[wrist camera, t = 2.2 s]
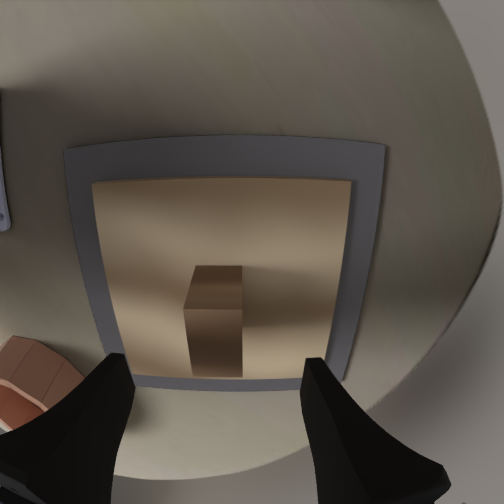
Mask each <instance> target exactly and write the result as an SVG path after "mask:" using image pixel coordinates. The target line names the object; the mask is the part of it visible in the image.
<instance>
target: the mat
mask: <svg viewBox="0 0 504 504" xmlns="http://www.w3.org/2000/svg"><path fill="white" fill-rule="evenodd" d="M63 152H64V165H65V175H66V184H67V193H68V200H69V207H70V214H71V220H72V226H73V232H74V237H75V242H76V248H77V252H78V257H79V262H80V266H81V271H82V275H83V279H84V283H85V287H86V291H87V295H88V298H89V302H90V306H91V309H92V313H93V316H94V319H95V323H96V326H97V329H98V332H99V335H100V339H101V342H102V345H103V347H104V350H105V353H106V356H108V355H109V354H110V353H111V352H113V353H122V354H125V357H126V361H127V364H128V367H129V370H130V373H131V376H132V379H133V382H134V385H135V386H143V387H153V388H164V389H178V390H196V391H238V392H241V391H283V390H300V387H301V382H302V378H284V379H194V378H175V377H161V376H149V375H139V374H132V371H131V368H130V365H129V362H128V359H127V355H126V352H125V349H124V345H123V342H122V339H121V335H120V332H119V328H118V324H117V320H116V317H115V313H114V309H113V305H112V301H111V296H110V292H109V288H108V283H107V279H106V274H105V269H104V264H103V259H102V254H101V248H100V242H99V236H98V230H97V224H96V217H95V209H94V202H93V193H92V184H93V183H96V182H103V181H115V180H129V179H146V178H166V177H194V176H283V177H311V178H332V179H348V180H349V181H351V192H350V202H349V212H348V220H347V229H346V237H345V244H344V252H343V259H342V266H341V272H340V279H339V285H338V291H337V297H336V303H335V308H334V314H333V319H332V324H331V330H330V335H329V340H328V345H327V349H326V354H325V359H324V361H325V363H326V364H327V366H328V367H329V369H330V370H331V372H332V373H333V374H334V376H335V377H336V378H337V380H338V381H339V382H340V384H341V382H342V379H343V375H344V372H345V369H346V365H347V362H348V358H349V354H350V351H351V347H352V343H353V339H354V336H355V332H356V328H357V323H358V319H359V315H360V311H361V306H362V302H363V297H364V293H365V288H366V283H367V278H368V273H369V268H370V262H371V257H372V251H373V245H374V239H375V233H376V226H377V220H378V212H379V205H380V197H381V188H382V179H383V169H384V158H385V145H383V144H377V143H369V142H360V141H351V140H340V139H329V138H316V137H299V136H277V135H201V136H178V137H162V138H149V139H138V140H127V141H118V142H110V143H102V144H94V145H87V146H80V147H74V148H68V149H64V150H63Z"/></svg>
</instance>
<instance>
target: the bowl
mask: <svg viewBox="0 0 504 504" xmlns="http://www.w3.org/2000/svg"><path fill="white" fill-rule="evenodd" d="M84 379H85V377H84V376H83V375H82V374H81V373H80V372H79V371H78V370H77V369H76V368H75V367H74V366H73V365H72V364H71V363H70V362H69V361H68V360H67V359H66V358H64V357H63V356H61V355H59V354H58V353H56V352H54V351H53V350H51V349H49V348H48V347H46V346H45V345H43V344H41V343H40V342H38V341H36V340H32V339H27V338H22V337H17V336H12V337H11V338H10V339H8V340H7V341H6V342H4V343H3V344H2V345H1V346H0V421H1V422H2V423H3V424H4V425H5V426H6V427H7V428H8V429H10V430H11V431H12V430H14V429H16V428H18V427H20V426H22V425H24V424H26V423H28V422H29V421H31V420H33V419H34V418H36V417H38V416H39V415H41V414H43V413H44V412H46V411H47V410H48V409H50V408H51V407H53V406H54V405H55V404H57V403H58V402H59V401H60V400H62V399H63V398H64V397H65V396H66V395H67V394H68V393H70V392H71V391H72V390H73V389H74V388H75V387H76V386H78V385H79V384H80V383H81V382H82V381H83V380H84Z"/></svg>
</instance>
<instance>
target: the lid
mask: <svg viewBox="0 0 504 504" xmlns="http://www.w3.org/2000/svg"><path fill="white" fill-rule="evenodd" d="M350 192H351V181H349V180H348V179H332V178H311V177H283V176H194V177H166V178H146V179H129V180H115V181H103V182H96V183H93V184H92V193H93V202H94V209H95V217H96V224H97V230H98V236H99V242H100V248H101V254H102V259H103V264H104V269H105V274H106V279H107V283H108V288H109V292H110V296H111V301H112V305H113V309H114V313H115V317H116V320H117V324H118V328H119V332H120V335H121V339H122V342H123V345H124V349H125V352H126V355H127V359H128V362H129V365H130V368H131V371H132V374H139V375H149V376H161V377H175V378H194V379H284V378H302V376H303V371H304V365H305V359H306V358H314V357H321V358H322V359H323V360H324V359H325V354H326V349H327V345H328V340H329V335H330V330H331V324H332V319H333V314H334V308H335V303H336V297H337V291H338V285H339V279H340V272H341V266H342V259H343V252H344V244H345V237H346V229H347V220H348V212H349V202H350Z"/></svg>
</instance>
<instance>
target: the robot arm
mask: <svg viewBox="0 0 504 504" xmlns="http://www.w3.org/2000/svg"><path fill="white" fill-rule="evenodd" d="M2 214H3V215H2ZM3 216H4V218H3ZM10 226H11V222H10V217H9V212H8V206H7V200H6V194H5V187H4V179H3V171H2V161H1V148H0V231H7V230H8V229H9V228H10ZM134 392H135V385H134V382H133V379H132V376H131V373H130V370H129V367H128V364H127V361H126V357H125V354H122V353H113V352H111V353H110V354H109V355H108V356H107V357H106V358H105V359H104V360H103V361H102V362H101V363H100V364H99V365H98V366H97V367H96V368H95V369H94V370H93V371H92V372H91V373H90V374H89V375H88V376H87V377H86V378H85V379H84V380H83V381H82V382H81V383H80V384H79V385H78V386H76V387H75V388H74V389H73V390H72V391H71V392H70V393H68V394H67V395H66V396H65V397H64V398H63V399H62V400H60V401H59V402H58V403H57V404H55V405H54V406H53V407H51V408H50V409H48V410H47V411H46V412H44V413H43V414H41V415H39V416H38V417H36V418H34V419H33V420H31V421H29V422H28V423H26V424H24V425H22V426H20V427H18V428H16V429H14V430H12V431H9V432H7V433H5V434H2V435H0V485H1V487H0V504H111V490H112V481H113V473H114V467H115V461H116V456H117V452H118V448H119V445H120V442H121V439H122V436H123V433H124V430H125V427H126V424H127V420H128V417H129V414H130V411H131V408H132V403H133V398H134ZM300 398H301V407H302V415H303V419H304V423H305V427H306V431H307V435H308V439H309V444H310V448H311V452H312V456H313V461H314V466H315V474H316V483H317V492H318V493H317V494H318V504H434V502H435V501H436V500H437V499H438V498H440V497H441V496H442V495H443V494H445V493H446V492H447V491H448V490H449V488H450V486H451V482H450V480H449V478H448V475H447V473H446V471H445V469H444V467H443V466H442V465H441V464H439V463H436V462H434V461H432V460H430V459H428V458H426V457H424V456H422V455H420V454H418V453H417V452H415V451H413V450H411V449H410V448H408V447H407V446H405V445H404V444H402V443H401V442H400V441H398V440H397V439H395V438H394V437H392V436H391V435H390V434H389V433H387V432H386V431H385V430H384V429H382V428H381V427H380V426H379V425H378V424H377V423H376V422H375V421H373V420H372V419H371V418H370V417H369V416H368V415H367V414H366V413H365V412H364V411H363V410H362V409H361V407H360V406H359V405H358V404H357V403H356V402H355V401H354V400H353V399H352V397H351V396H350V395H349V394H348V393H347V391H346V390H345V389H344V388H343V386H342V385H341V384H340V382H339V381H338V380H337V378H336V377H335V376H334V374H333V373H332V372H331V370H330V369H329V367H328V366H327V364H326V363H325V361H324V360H323V359H322V358H321V357H314V358H306V359H305V365H304V371H303V376H302V382H301V387H300ZM462 504H466V503H462Z"/></svg>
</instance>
